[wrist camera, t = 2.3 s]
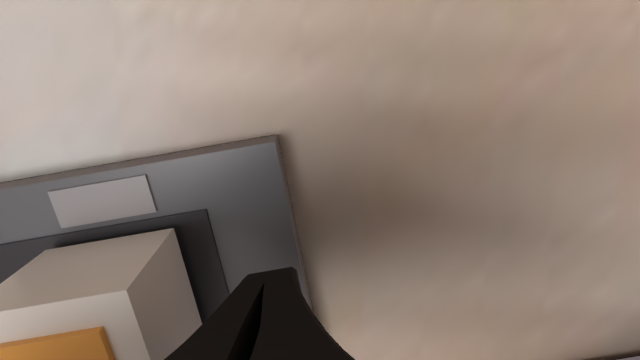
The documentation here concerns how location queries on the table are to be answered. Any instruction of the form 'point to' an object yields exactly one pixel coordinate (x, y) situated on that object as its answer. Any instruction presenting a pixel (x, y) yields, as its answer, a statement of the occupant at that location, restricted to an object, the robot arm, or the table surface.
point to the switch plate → (166, 213)
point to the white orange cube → (100, 302)
